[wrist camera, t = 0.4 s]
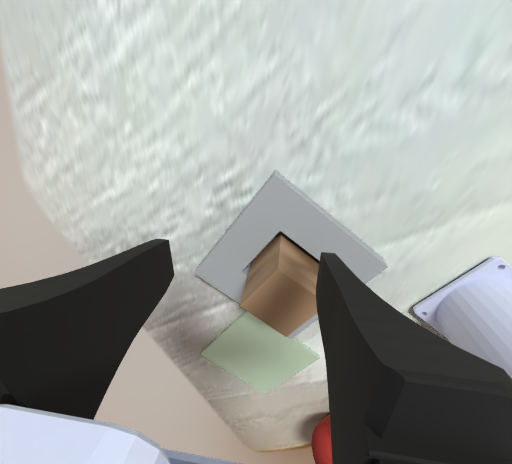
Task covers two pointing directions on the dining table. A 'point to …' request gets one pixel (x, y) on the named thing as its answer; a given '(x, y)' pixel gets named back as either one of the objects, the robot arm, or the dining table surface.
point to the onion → (322, 442)
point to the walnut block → (282, 285)
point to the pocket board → (291, 224)
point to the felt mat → (258, 353)
